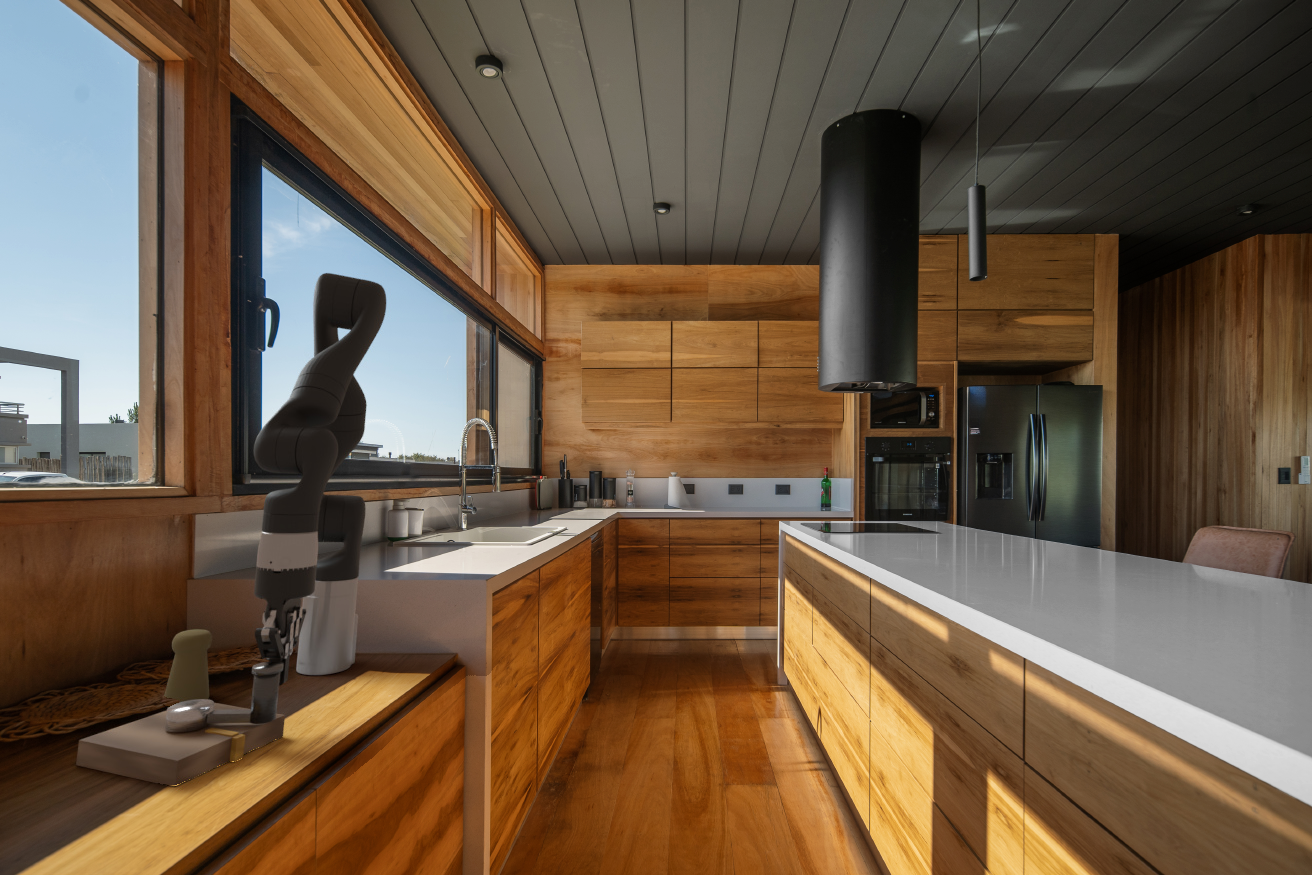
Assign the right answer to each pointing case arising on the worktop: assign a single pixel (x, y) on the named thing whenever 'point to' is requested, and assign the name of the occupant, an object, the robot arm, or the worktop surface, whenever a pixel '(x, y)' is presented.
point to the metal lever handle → (202, 712)
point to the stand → (173, 747)
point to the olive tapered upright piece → (189, 666)
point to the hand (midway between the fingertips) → (276, 683)
